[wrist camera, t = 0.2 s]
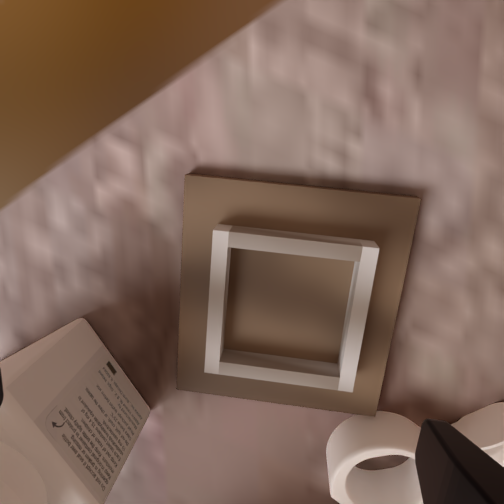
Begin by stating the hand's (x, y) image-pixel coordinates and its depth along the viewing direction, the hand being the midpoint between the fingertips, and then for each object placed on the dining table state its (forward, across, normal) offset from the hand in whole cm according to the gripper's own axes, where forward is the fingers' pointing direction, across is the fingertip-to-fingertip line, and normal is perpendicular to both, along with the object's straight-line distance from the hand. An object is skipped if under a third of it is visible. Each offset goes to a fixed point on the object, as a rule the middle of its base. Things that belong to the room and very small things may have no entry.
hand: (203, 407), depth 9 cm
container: (+15, +11, +11) cm, 22 cm away
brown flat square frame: (+15, -2, +4) cm, 15 cm away
